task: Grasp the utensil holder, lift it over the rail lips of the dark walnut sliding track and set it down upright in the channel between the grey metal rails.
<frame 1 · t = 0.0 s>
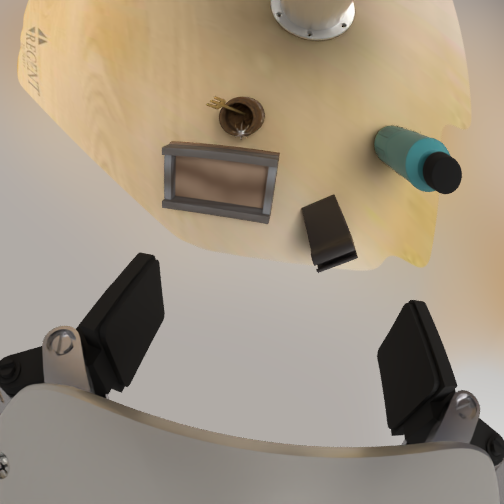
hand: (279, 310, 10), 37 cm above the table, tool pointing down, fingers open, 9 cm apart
beverage bottle: (388, 142, 38), on the table
utensil holder: (246, 114, 40), on the table
phone stand: (327, 222, 47), on the table
bottom track: (221, 177, 46), on the table
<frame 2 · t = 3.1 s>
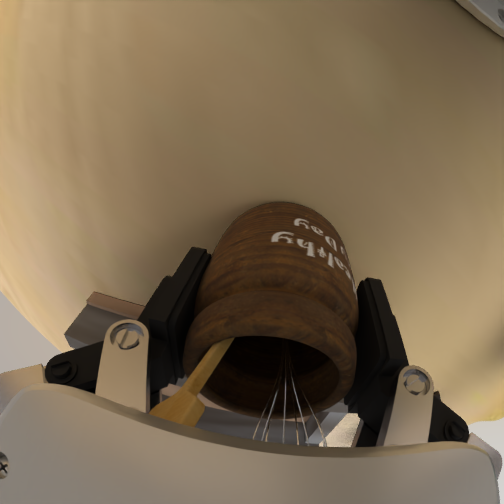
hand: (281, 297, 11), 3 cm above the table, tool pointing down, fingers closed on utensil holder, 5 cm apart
utensil holder: (281, 252, 13), on the table, touching gripper
bottom track: (216, 373, 19), on the table
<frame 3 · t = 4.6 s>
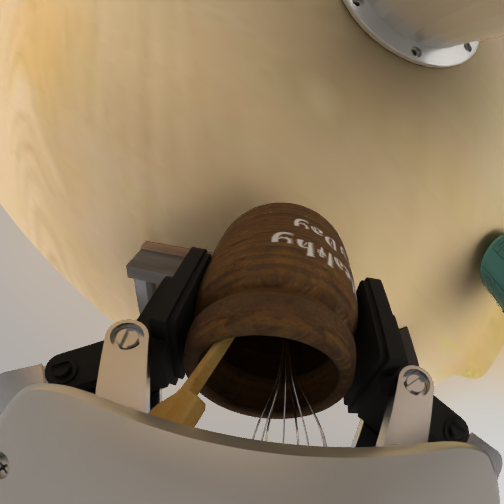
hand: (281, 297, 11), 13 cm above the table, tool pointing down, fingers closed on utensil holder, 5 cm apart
beverage bottle: (493, 251, 21), on the table
utensil holder: (281, 252, 13), point 9 cm above the table, touching gripper
phone stand: (388, 356, 29), on the table
bottom track: (233, 304, 28), on the table
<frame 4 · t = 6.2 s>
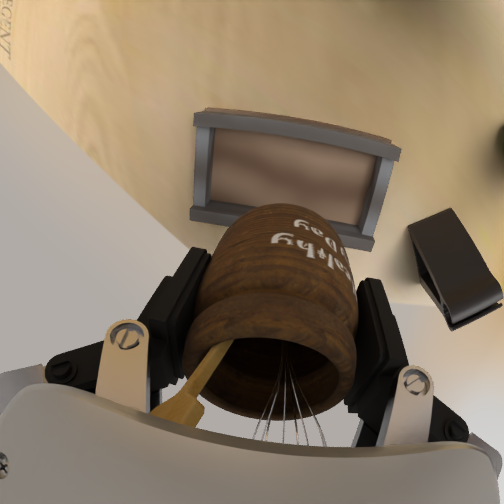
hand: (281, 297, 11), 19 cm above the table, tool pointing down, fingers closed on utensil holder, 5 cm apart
utensil holder: (280, 253, 13), point 16 cm above the table, touching gripper
phone stand: (435, 246, 29), on the table
bottom track: (291, 171, 27), on the table
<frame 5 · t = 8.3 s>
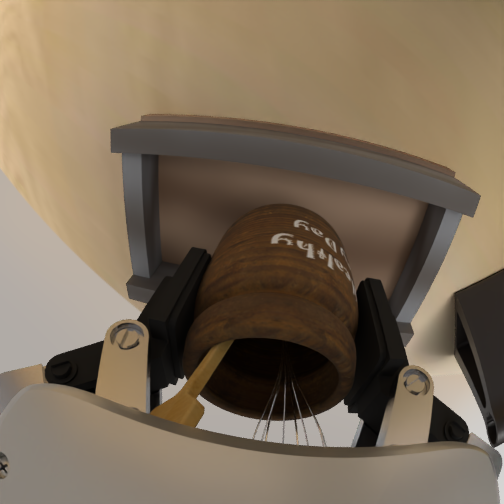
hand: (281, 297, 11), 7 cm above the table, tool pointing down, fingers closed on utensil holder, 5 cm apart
utensil holder: (280, 253, 13), point 4 cm above the table, touching gripper
phone stand: (480, 313, 18), on the table
bottom track: (289, 219, 17), on the table
when the fingers open (6 cm above the table, at t = 9.1 s): utensil holder drops 2 cm, resting on bottom track.
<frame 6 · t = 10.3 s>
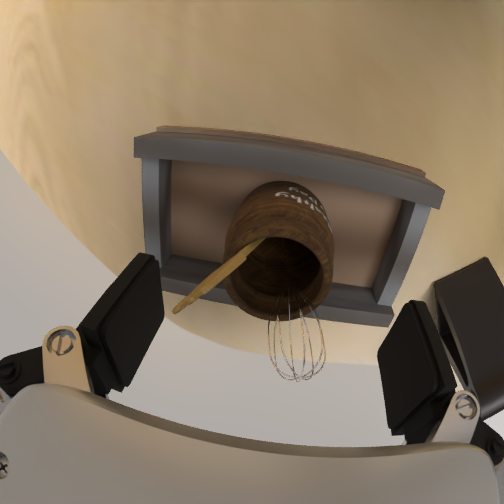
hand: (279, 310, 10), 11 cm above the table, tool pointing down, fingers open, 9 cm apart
utensil holder: (280, 218, 19), point 1 cm above the table, touching bottom track
phone stand: (461, 302, 21), on the table
bottom track: (282, 216, 20), on the table
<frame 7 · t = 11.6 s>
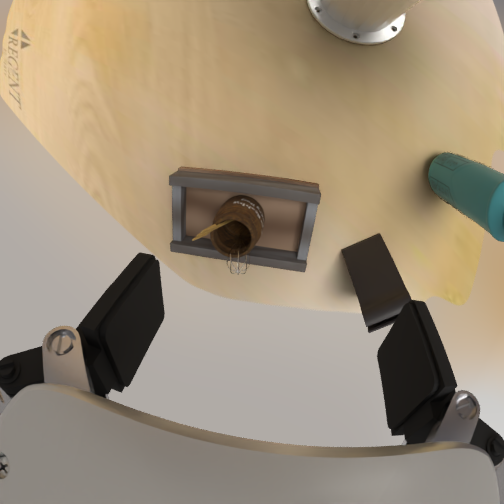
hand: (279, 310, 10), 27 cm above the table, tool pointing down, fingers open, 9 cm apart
beverage bottle: (440, 171, 31), on the table
utensil holder: (242, 214, 37), point 1 cm above the table, touching bottom track
phone stand: (369, 265, 39), on the table
bottom track: (244, 213, 38), on the table
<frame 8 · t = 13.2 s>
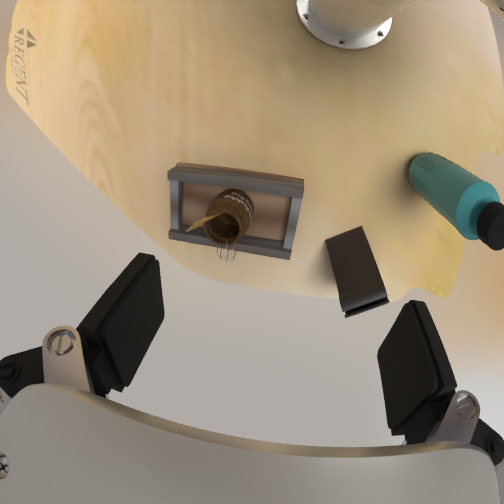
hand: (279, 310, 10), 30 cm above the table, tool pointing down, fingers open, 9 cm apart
beverage bottle: (422, 169, 34), on the table
utensil holder: (234, 205, 40), point 1 cm above the table, touching bottom track
phone stand: (352, 255, 42), on the table
bottom track: (235, 205, 41), on the table
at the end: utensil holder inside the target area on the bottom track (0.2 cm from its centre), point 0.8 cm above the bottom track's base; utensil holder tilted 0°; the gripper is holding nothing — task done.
